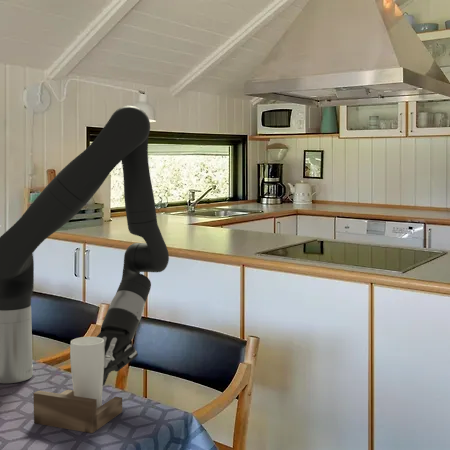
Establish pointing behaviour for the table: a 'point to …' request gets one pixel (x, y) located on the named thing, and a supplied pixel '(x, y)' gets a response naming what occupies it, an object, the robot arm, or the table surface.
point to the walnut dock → (73, 411)
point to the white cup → (88, 367)
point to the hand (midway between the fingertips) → (95, 386)
